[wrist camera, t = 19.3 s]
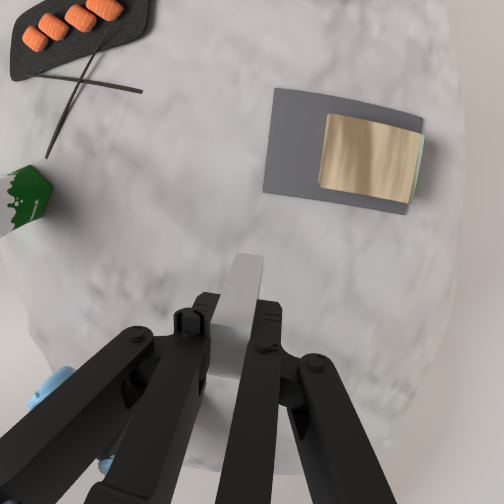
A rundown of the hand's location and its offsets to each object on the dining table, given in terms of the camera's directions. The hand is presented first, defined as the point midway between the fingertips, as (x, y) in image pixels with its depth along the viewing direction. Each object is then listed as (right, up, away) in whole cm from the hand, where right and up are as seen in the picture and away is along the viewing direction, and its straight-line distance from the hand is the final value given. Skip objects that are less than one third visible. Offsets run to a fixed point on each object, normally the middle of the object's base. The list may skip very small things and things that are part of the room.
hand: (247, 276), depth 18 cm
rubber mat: (+12, +15, +21) cm, 29 cm away
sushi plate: (-28, +31, +20) cm, 46 cm away
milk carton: (-38, +12, +28) cm, 49 cm away
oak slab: (+9, +14, +19) cm, 25 cm away
